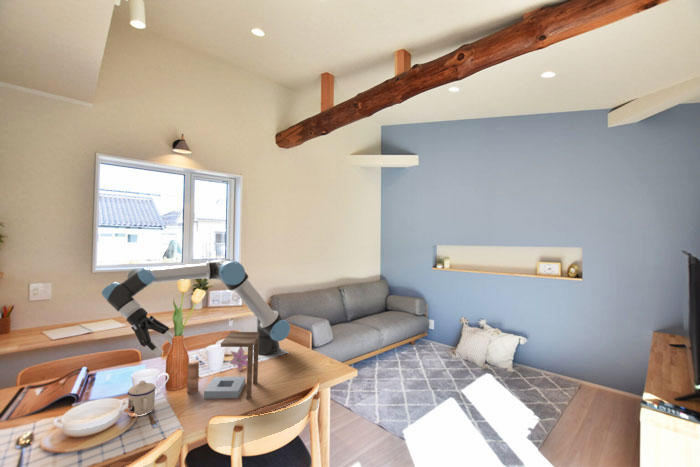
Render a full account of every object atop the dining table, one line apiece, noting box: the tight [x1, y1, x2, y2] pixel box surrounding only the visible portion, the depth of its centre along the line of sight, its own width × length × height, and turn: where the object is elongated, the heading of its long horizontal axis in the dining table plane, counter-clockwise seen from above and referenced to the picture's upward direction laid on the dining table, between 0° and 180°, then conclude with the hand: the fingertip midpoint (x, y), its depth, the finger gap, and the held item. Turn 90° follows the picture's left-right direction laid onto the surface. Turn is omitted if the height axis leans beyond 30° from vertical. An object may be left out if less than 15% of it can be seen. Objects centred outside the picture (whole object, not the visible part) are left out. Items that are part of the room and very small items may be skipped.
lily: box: [229, 347, 248, 373], centre depth 172 cm, size 12×12×10 cm
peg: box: [186, 360, 200, 394], centre depth 147 cm, size 4×4×12 cm
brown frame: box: [220, 331, 259, 400], centre depth 148 cm, size 16×13×24 cm
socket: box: [203, 376, 246, 399], centre depth 148 cm, size 14×14×3 cm
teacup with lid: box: [127, 380, 156, 415], centre depth 128 cm, size 12×9×12 cm
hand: (168, 348), depth 146 cm, fingers open, 13 cm apart
